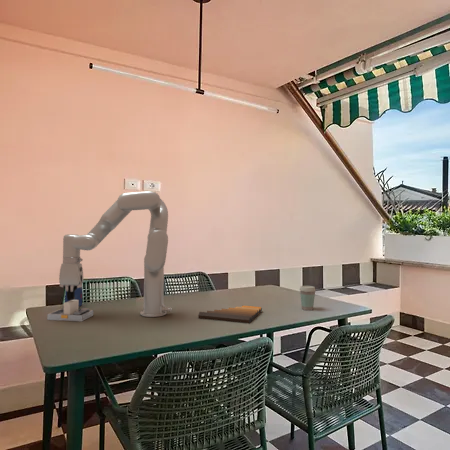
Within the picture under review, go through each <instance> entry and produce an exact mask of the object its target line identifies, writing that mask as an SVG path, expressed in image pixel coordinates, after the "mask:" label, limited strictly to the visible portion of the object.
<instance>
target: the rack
mask: <svg viewBox="0 0 450 450" xmlns="http://www.w3.org/2000/svg"><path fill="white" fill-rule="evenodd" d="M93 316H94V310H93V309H90V308H85V307H83V308H81V309H78V311H76V312H74V313H73V314H71V315H66V314H64V308H60V309H57V310H54V311H51V312H49V313H47V316H46V317H47V318H46V319H47V321H68V322H69V321H70V322H84V321H85V320H87V319H89V318H91V317H93Z"/></svg>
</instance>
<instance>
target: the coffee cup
mask: <svg viewBox="0 0 450 450" xmlns="http://www.w3.org/2000/svg"><path fill="white" fill-rule="evenodd" d="M299 291H300V292H299V294H300V303H301V304H300V305H301V310H303V311H313V310H314V304H315V297H316V291H317V290H316V288H315V286H312V285H301V286H300V287H299Z"/></svg>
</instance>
